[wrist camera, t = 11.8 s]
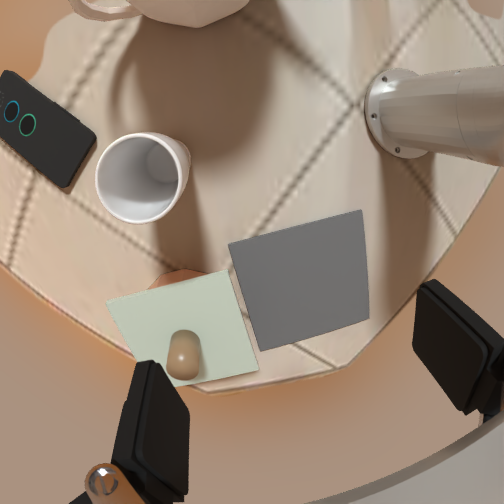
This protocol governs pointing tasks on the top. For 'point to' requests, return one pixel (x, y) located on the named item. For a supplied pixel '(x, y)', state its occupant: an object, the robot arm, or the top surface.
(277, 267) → the mat
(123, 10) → the watering can
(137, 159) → the drinking glass
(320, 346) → the top surface
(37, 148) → the smart home device
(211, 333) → the cover sheet
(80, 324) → the top surface
